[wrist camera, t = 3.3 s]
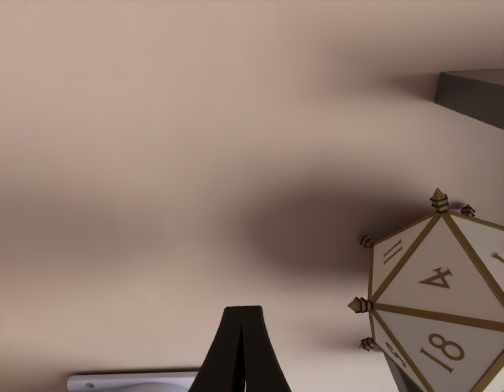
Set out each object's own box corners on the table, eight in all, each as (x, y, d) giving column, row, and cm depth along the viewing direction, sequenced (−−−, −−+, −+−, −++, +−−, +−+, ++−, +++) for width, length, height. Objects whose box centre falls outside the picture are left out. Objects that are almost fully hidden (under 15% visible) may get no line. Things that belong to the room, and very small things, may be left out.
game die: (368, 186, 19) (420, 125, 9) (532, 236, 17) (821, 223, 7) (319, 335, 18) (319, 436, 9) (484, 404, 16) (729, 643, 7)
